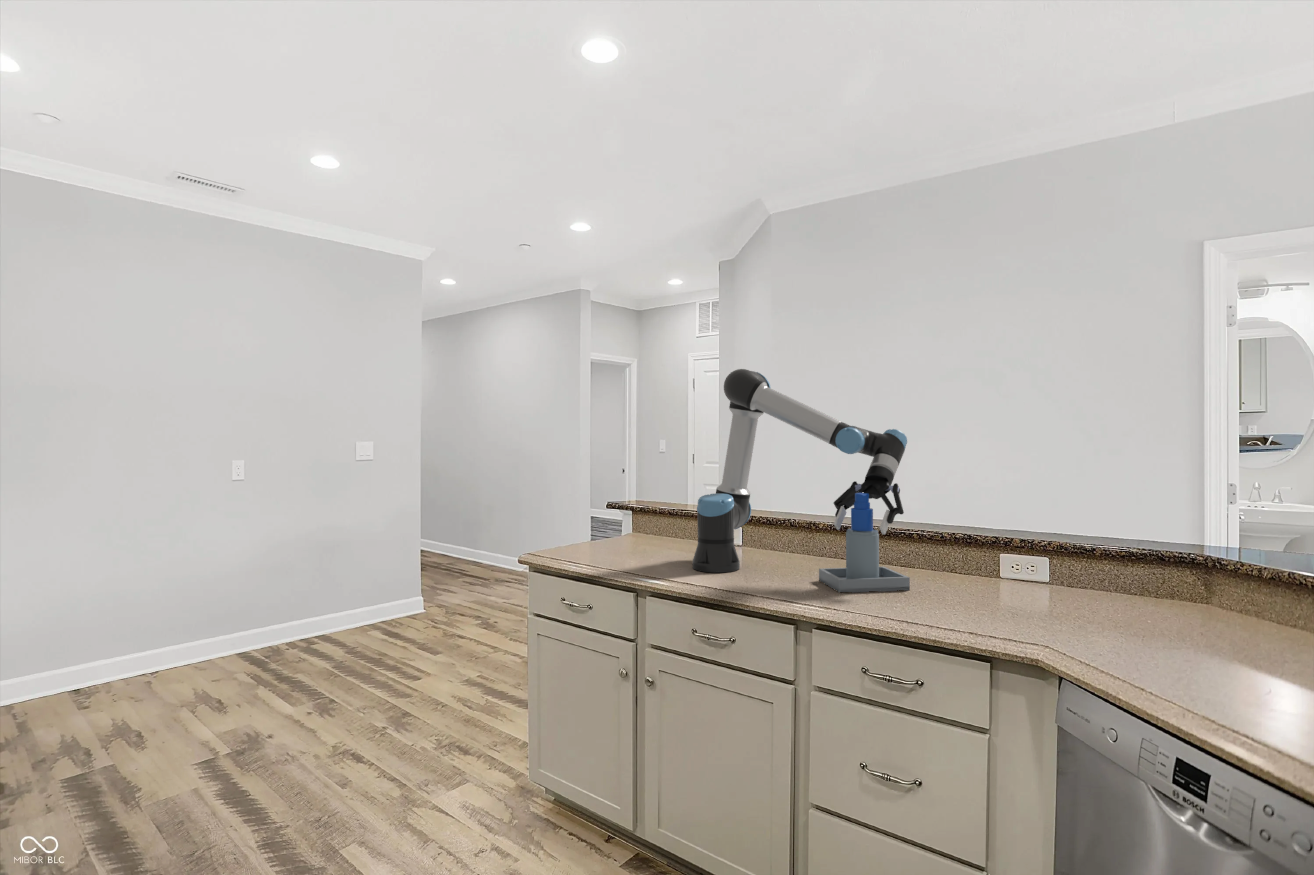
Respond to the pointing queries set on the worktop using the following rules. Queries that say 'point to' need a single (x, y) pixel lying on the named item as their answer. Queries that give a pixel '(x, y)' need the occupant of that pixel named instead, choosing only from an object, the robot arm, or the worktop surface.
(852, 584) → the tray
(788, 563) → the worktop surface
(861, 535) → the spray bottle
